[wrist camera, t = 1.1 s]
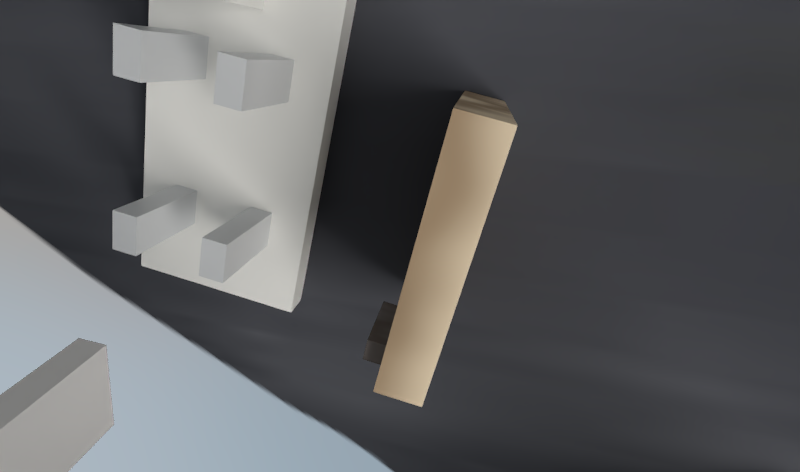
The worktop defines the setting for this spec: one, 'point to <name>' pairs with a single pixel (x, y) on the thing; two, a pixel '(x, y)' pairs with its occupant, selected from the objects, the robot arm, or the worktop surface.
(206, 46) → the white holder stand
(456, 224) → the oak door
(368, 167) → the worktop surface
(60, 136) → the worktop surface
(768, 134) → the worktop surface
